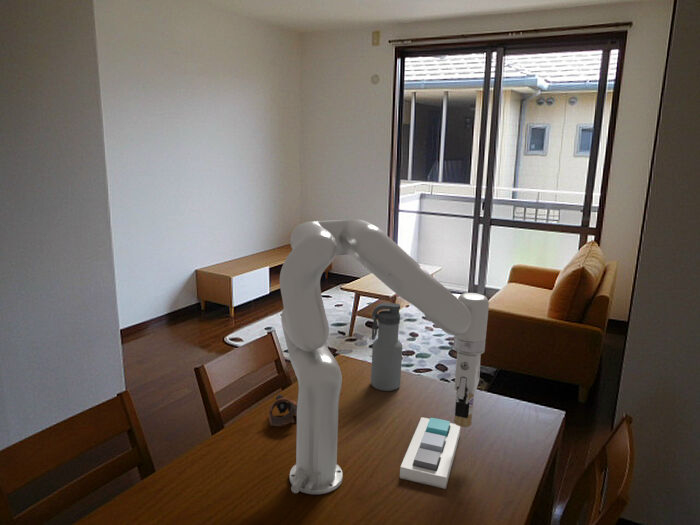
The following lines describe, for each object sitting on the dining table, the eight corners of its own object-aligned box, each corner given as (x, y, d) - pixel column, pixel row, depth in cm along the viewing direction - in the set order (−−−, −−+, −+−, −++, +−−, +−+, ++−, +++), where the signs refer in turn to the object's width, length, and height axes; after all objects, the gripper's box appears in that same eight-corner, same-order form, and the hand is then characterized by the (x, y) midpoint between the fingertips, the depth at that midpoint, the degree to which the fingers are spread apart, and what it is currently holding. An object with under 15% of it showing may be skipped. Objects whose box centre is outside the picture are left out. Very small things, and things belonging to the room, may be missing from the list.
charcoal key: (435, 474, 122) (436, 464, 122) (413, 468, 124) (413, 459, 124) (439, 461, 127) (440, 452, 127) (417, 456, 129) (418, 447, 129)
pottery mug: (311, 426, 146) (302, 409, 141) (281, 445, 144) (271, 428, 139) (294, 398, 155) (285, 381, 150) (266, 416, 153) (256, 399, 148)
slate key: (441, 455, 130) (442, 446, 129) (420, 451, 132) (420, 442, 131) (444, 444, 135) (445, 436, 134) (424, 440, 137) (424, 431, 136)
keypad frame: (445, 489, 120) (446, 477, 120) (399, 477, 124) (400, 466, 123) (459, 434, 143) (460, 425, 143) (420, 426, 147) (421, 417, 146)
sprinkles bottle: (468, 429, 128) (472, 379, 125) (450, 424, 131) (454, 374, 128) (474, 422, 132) (478, 373, 129) (457, 416, 134) (461, 368, 131)
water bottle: (366, 389, 168) (370, 307, 162) (372, 377, 178) (376, 298, 172) (398, 393, 166) (403, 310, 160) (401, 380, 176) (406, 301, 169)
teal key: (446, 439, 137) (446, 431, 137) (426, 435, 139) (426, 426, 138) (449, 429, 142) (450, 421, 142) (429, 425, 144) (430, 417, 143)
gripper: (480, 358, 118) (473, 431, 122) (489, 335, 133) (482, 400, 137) (447, 353, 120) (441, 424, 124) (459, 330, 136) (454, 394, 140)
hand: (463, 411), depth 131 cm, fingers closed on sprinkles bottle, 4 cm apart
